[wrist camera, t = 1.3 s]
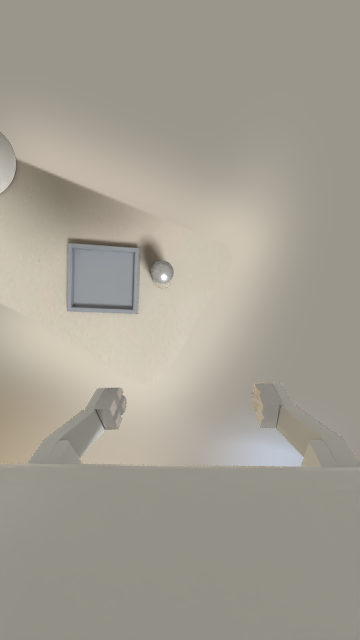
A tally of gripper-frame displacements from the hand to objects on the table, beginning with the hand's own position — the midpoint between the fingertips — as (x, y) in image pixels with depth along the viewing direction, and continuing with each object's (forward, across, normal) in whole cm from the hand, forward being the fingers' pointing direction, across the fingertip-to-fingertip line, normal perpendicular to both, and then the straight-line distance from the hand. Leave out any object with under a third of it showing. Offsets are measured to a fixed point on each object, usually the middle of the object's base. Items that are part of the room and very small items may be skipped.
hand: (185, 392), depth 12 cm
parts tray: (+30, +18, 0) cm, 35 cm away
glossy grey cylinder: (+32, +6, +1) cm, 33 cm away
